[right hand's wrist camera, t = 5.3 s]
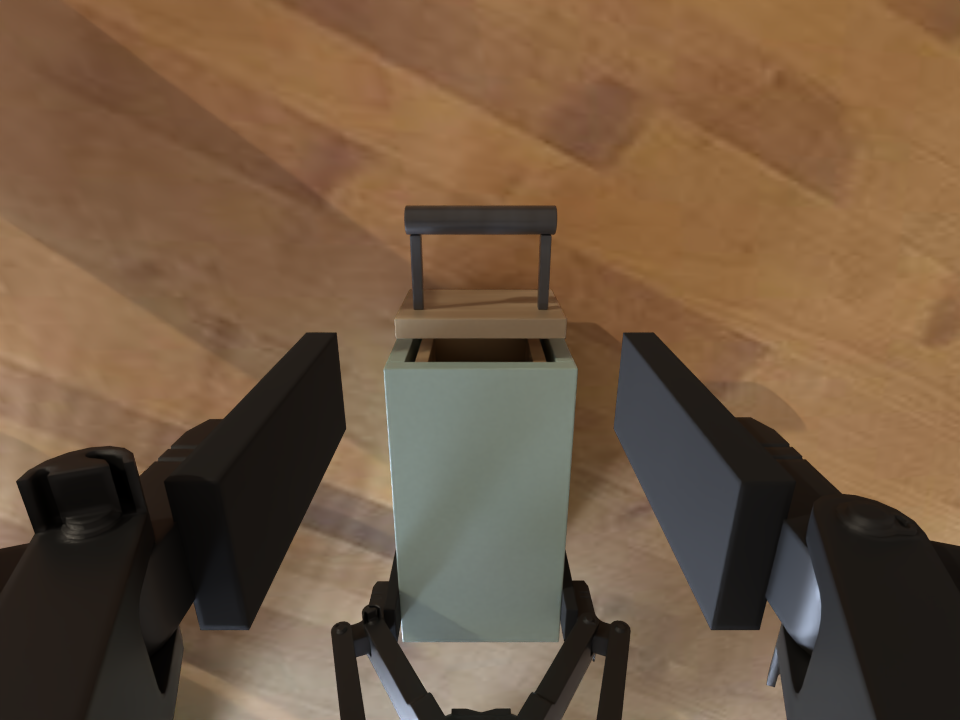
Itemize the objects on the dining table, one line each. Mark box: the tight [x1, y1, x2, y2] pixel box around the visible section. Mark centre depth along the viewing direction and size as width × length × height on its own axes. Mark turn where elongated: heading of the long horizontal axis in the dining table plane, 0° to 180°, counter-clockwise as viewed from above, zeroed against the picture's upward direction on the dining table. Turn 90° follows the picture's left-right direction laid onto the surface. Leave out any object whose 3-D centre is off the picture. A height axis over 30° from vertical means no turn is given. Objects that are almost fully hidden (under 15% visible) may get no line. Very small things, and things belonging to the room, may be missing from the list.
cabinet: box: [384, 339, 578, 642], centre depth 38 cm, size 20×11×9 cm, turn 0°
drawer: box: [394, 206, 567, 362], centre depth 36 cm, size 25×10×7 cm, turn 0°
